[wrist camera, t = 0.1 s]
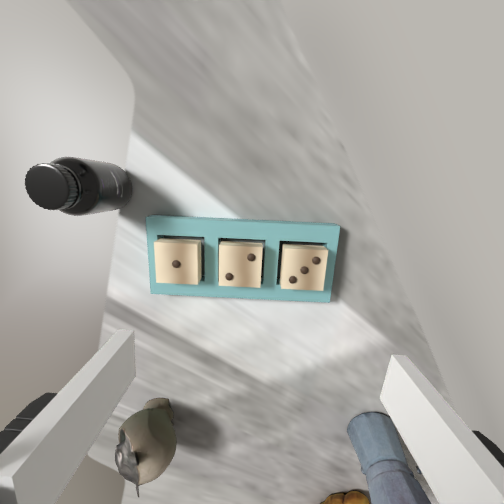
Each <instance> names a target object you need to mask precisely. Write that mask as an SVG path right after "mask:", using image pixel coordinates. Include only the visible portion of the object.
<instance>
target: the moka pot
mask: <svg viewBox="0 0 504 504" xmlns="http://www.w3.org/2000/svg"><path fill="white" fill-rule="evenodd" d="M347 432H348V435H349V437H350V439H351V442H352V444H353V447H354V449H355V451H356V454H357V456H358V458H359V461H360V463H361V471H362V473H363V474H365V475H366V480H367V483H368V489H369V493H370V498H371V503H372V504H431V502H430V501H429V499H428V497H427V496H426V494H425V492H424V491H423V489H422V487H421V485H420V484H419V482H418V481H417V480H416V479H415V478H414V475H413V472H412V471H411V470H410V469H409V467H408V464H407V461H406V458H405V455H404V452H403V450H402V447H401V444H400V441H399V438H398V435H397V432H396V429H395V427H394V424H393V422H392V419H391V418H389V417H387V416H386V415H384V414H380V413H375V412H371V413H363V414H361V415H358V416H357V417H355V418H353V419H352V421H350V423H349V425H348V428H347ZM416 468H417V473H419V474H422V472H421V470H420V469H419V467H418V466H416Z"/></svg>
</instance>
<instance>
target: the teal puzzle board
mask: <svg viewBox="0 0 504 504" xmlns="http://www.w3.org/2000/svg"><path fill="white" fill-rule="evenodd" d="M146 231H147V245H148V260H149V275H150V289H151V294H167V295H187V296H207V297H227V298H248V299H268V300H288V301H308V302H328V303H330V297H331V289H332V282H333V275H334V268H335V260H336V253H337V246H338V239H339V231H340V226H339V225H337V224H334V223H312V222H291V221H270V220H248V219H227V218H205V217H184V216H163V215H151V216H148V217H146ZM163 235H173V236H194V237H204V238H205V276H204V275H201V280H200V282H199V283H198V285H194V284H174V283H156V270H155V253H154V242H155V241H157V240H158V239H160V238H163ZM220 238H237V239H258V240H265V251H264V268H263V278H261V285H260V288H255V287H235V286H219V244H220ZM280 241H300V242H321V243H323V246H324V247H325V248H326V249H327V250H328V257H327V264H326V272H325V280H324V288H323V291H317V290H296V289H281V286H280V279H277V268H278V255H279V242H280Z"/></svg>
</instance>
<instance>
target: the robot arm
mask: <svg viewBox="0 0 504 504" xmlns="http://www.w3.org/2000/svg"><path fill="white" fill-rule="evenodd" d="M135 376H136V372H135V343H134V330H123V329H119V330H118V331H117V332H116V333H115V334H114V335H113V336H112V337H111V338H110V339H109V340H108V341H107V342H106V343H105V344H104V345H103V346H102V348H101V349H100V350H99V351H98V352H97V353H96V354H95V355H94V356H93V357H92V358H91V359H90V360H89V361H88V362H87V363H86V364H85V365H84V367H83V368H82V369H81V370H80V371H79V372H78V373H77V374H76V375H75V376H74V377H73V378H72V379H71V380H70V381H69V382H68V383H67V385H66V386H65V387H64V388H63V389H62V390H61V391H60V392H59V393H58V394H57V393H45V394H44V395H42V396H41V397H39V398H38V399H36V400H34V401H33V402H31V403H30V404H29V405H28V406H27V407H26V408H25V409H24V410H23V411H22V412H21V413H19V415H17V416H16V419H13V420H12V421H11V422H10V423H9V424H8V425H7V426H6V427H5V429H4V431H1V432H0V504H55V503H56V501H57V500H58V498H59V496H60V495H61V493H62V492H63V490H64V489H65V487H66V485H67V484H68V482H69V481H70V479H71V478H72V476H73V474H74V473H75V471H76V469H77V468H78V466H79V465H80V463H81V462H82V460H83V458H84V457H85V455H86V454H87V452H88V451H89V449H90V447H91V446H92V444H93V443H94V441H95V439H96V438H97V436H98V435H99V433H100V432H101V430H102V428H103V427H104V425H105V424H106V422H107V420H108V419H109V417H110V416H111V414H112V413H113V411H114V409H115V408H116V406H117V405H118V403H119V401H120V400H121V398H122V397H123V395H124V394H125V392H126V390H127V389H128V387H129V386H130V384H131V382H132V381H133V379H134V378H135ZM380 400H381V401H382V403H383V405H384V407H385V409H386V410H387V412H388V414H389V416H390V417H391V419H392V421H393V423H394V424H395V426H396V428H397V430H398V431H399V433H400V435H401V437H402V439H403V440H404V442H405V444H406V446H407V447H408V449H409V451H410V453H411V454H412V456H413V458H414V460H415V461H416V463H417V465H418V467H419V469H420V470H421V472H422V474H423V476H424V477H425V479H426V481H427V483H428V484H429V486H430V488H431V490H432V491H433V493H434V495H435V497H436V499H437V500H438V502H439V504H504V453H503V452H502V451H501V450H500V449H499V448H498V447H497V446H496V445H495V444H494V443H493V442H492V441H490V440H489V439H488V438H487V437H485V436H484V435H483V434H481V433H480V432H479V431H471V430H470V428H469V427H468V426H467V425H466V424H465V423H464V422H463V420H462V419H461V418H460V417H459V416H458V415H457V413H456V412H455V411H454V410H453V409H452V408H451V406H450V405H449V404H448V403H447V402H446V401H445V399H444V398H443V397H442V396H441V395H440V394H439V392H438V391H437V390H436V389H435V388H434V387H433V386H432V384H431V383H430V382H429V381H428V380H427V379H426V377H425V376H424V375H423V374H422V373H421V372H420V370H419V369H418V368H417V367H416V366H415V365H414V364H413V362H412V361H411V360H410V359H409V358H408V357H407V356H404V355H394V354H392V355H391V359H390V363H389V366H388V370H387V373H386V377H385V381H384V384H383V388H382V392H381V395H380Z"/></svg>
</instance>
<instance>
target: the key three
mask: <svg viewBox="0 0 504 504" xmlns="http://www.w3.org/2000/svg"><path fill="white" fill-rule="evenodd" d="M327 257H328V250H327V249H326V248H325V247H324V246H314V245H293V244H283V247H282V260H281V273H280V286H281V289H296V290H317V291H323V288H324V280H325V272H326V264H327Z"/></svg>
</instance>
